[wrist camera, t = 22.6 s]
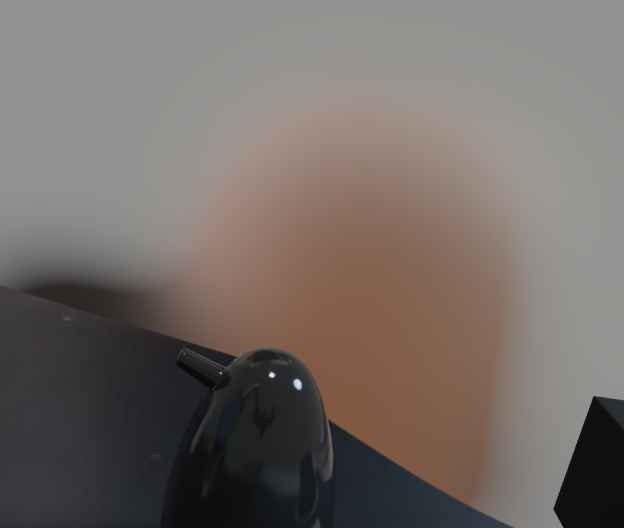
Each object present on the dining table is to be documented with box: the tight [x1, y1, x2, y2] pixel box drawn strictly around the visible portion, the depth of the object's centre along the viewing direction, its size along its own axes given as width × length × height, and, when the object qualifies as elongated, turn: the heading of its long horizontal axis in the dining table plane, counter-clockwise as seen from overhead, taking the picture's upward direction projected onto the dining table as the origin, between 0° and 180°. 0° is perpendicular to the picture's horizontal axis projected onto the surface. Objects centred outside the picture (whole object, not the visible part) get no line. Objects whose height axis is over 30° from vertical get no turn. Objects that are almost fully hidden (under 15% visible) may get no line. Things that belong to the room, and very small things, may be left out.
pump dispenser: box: [161, 347, 335, 528], centre depth 34 cm, size 10×10×15 cm
